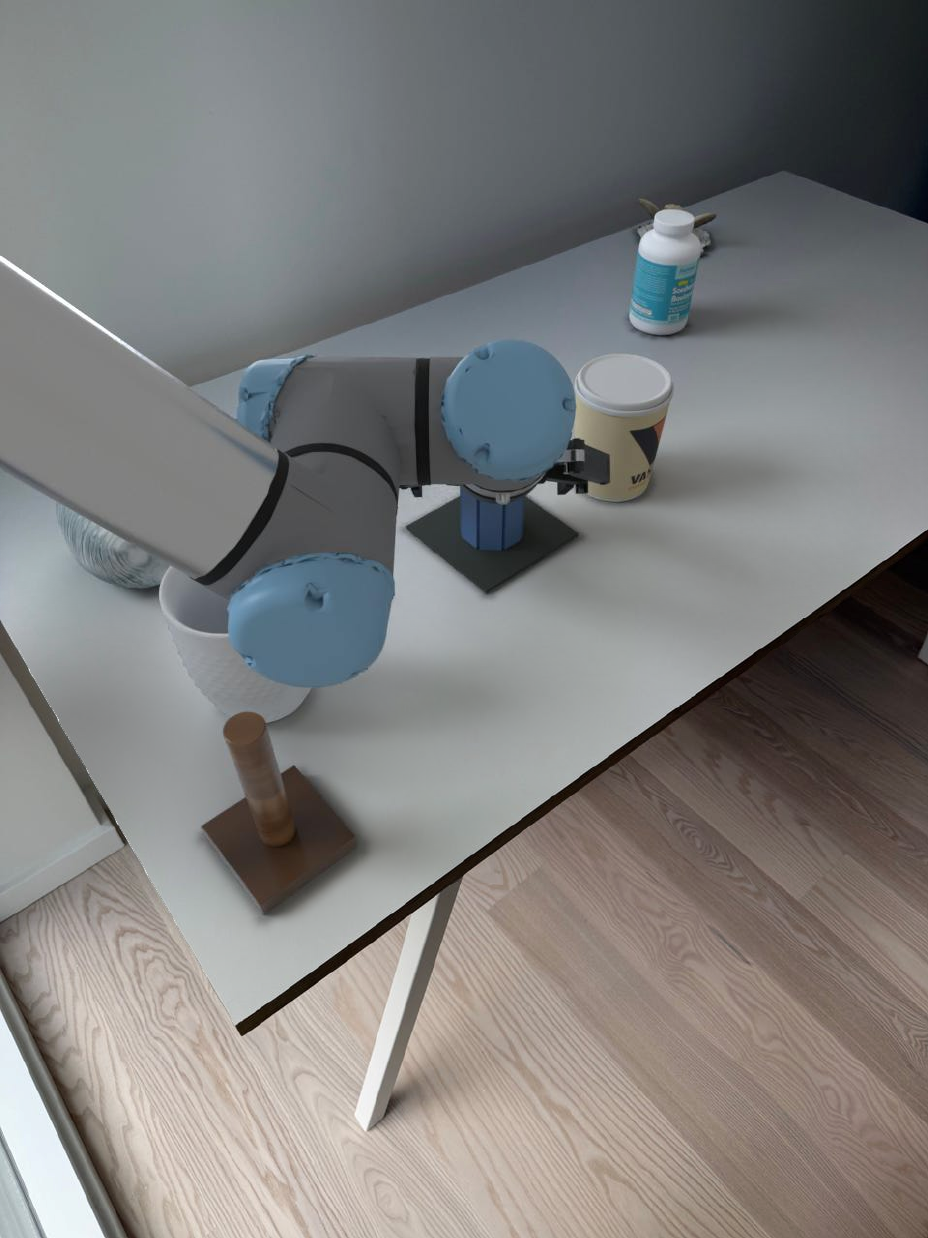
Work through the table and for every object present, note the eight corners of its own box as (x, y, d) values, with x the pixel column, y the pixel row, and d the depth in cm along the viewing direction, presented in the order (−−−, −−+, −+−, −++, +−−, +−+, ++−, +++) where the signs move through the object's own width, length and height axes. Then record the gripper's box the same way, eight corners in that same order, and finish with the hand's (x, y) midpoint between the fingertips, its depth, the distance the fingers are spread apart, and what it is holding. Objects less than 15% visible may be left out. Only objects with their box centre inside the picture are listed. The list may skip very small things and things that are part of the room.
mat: (405, 528, 88) (405, 525, 88) (496, 478, 93) (496, 475, 93) (486, 594, 82) (486, 590, 82) (578, 536, 87) (578, 533, 87)
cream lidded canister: (641, 517, 89) (659, 415, 80) (553, 493, 92) (561, 391, 83) (667, 464, 95) (686, 363, 86) (584, 443, 97) (594, 343, 88)
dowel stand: (205, 836, 65) (154, 722, 55) (297, 775, 69) (265, 657, 58) (263, 915, 61) (220, 808, 51) (358, 846, 65) (335, 732, 54)
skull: (730, 247, 129) (730, 190, 122) (676, 283, 128) (673, 228, 121) (675, 217, 136) (672, 161, 129) (623, 250, 135) (617, 197, 127)
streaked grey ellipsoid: (71, 536, 89) (5, 501, 80) (137, 468, 90) (79, 424, 80) (155, 624, 85) (96, 598, 76) (224, 552, 86) (174, 517, 76)
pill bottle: (674, 343, 111) (693, 235, 101) (619, 328, 114) (632, 222, 104) (695, 317, 116) (715, 211, 106) (641, 303, 118) (656, 199, 108)
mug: (365, 623, 79) (350, 511, 70) (389, 720, 72) (375, 609, 63) (195, 656, 77) (155, 544, 67) (202, 760, 70) (158, 650, 60)
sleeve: (449, 527, 87) (446, 453, 81) (494, 501, 90) (495, 427, 84) (489, 559, 84) (490, 484, 78) (535, 531, 87) (540, 456, 80)
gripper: (326, 502, 64) (359, 523, 85) (675, 496, 64) (621, 519, 85) (323, 396, 63) (357, 444, 85) (674, 390, 63) (620, 439, 85)
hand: (489, 481), depth 85 cm, fingers open, 13 cm apart
